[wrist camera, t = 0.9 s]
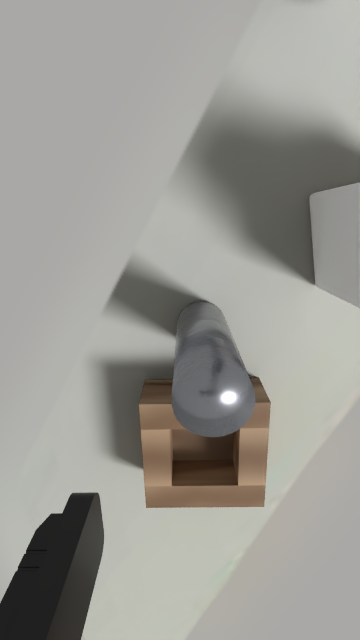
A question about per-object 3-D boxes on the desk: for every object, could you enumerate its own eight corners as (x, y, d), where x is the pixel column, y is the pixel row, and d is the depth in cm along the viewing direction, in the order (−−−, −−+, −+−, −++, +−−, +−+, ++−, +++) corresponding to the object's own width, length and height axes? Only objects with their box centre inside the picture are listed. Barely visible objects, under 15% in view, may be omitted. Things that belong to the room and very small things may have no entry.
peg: (176, 301, 26) (169, 363, 15) (225, 300, 26) (257, 362, 15) (178, 347, 27) (172, 437, 16) (225, 346, 27) (253, 436, 16)
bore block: (145, 379, 28) (138, 404, 24) (258, 378, 28) (270, 402, 24) (151, 472, 31) (146, 507, 27) (254, 471, 31) (264, 506, 27)
